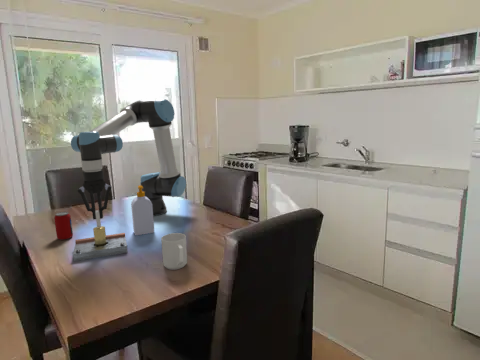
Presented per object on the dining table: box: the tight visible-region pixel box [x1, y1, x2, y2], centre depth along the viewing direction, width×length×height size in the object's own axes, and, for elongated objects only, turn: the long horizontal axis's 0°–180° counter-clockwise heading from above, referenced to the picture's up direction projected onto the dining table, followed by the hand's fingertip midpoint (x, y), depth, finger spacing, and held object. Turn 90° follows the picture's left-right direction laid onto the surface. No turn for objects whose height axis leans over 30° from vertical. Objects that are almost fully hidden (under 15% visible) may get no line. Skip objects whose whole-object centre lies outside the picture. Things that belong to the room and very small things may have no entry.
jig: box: [72, 232, 129, 262], centre depth 139 cm, size 20×14×4 cm
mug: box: [160, 232, 188, 271], centre depth 122 cm, size 12×9×11 cm
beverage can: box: [53, 211, 74, 241], centre depth 155 cm, size 7×7×12 cm
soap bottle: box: [130, 184, 155, 236], centre depth 159 cm, size 9×7×23 cm
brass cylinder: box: [92, 225, 107, 247], centre depth 139 cm, size 4×4×10 cm
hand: (99, 226), depth 138 cm, fingers closed
